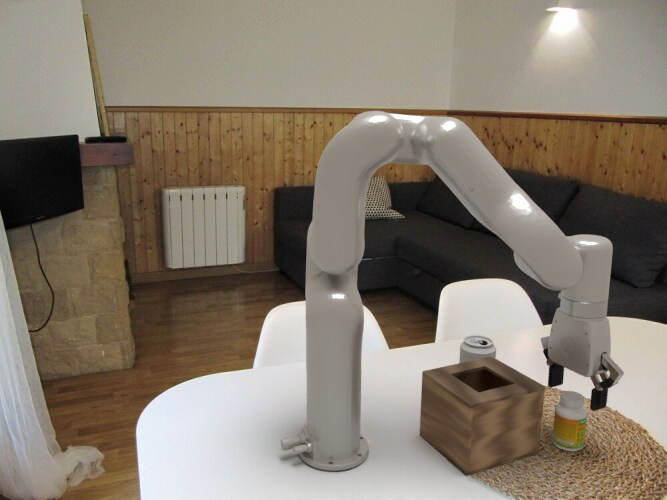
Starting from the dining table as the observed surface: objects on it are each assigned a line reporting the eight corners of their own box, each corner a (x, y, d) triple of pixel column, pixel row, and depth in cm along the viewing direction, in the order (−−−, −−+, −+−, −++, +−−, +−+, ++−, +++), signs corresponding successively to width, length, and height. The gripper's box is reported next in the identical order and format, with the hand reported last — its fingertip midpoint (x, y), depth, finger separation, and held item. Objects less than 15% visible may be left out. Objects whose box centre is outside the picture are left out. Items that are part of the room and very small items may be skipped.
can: (493, 400, 124) (498, 347, 121) (457, 397, 126) (460, 344, 123) (491, 385, 131) (495, 334, 129) (457, 381, 133) (460, 331, 130)
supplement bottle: (580, 455, 105) (586, 405, 102) (548, 446, 107) (553, 397, 105) (585, 441, 109) (591, 393, 107) (555, 433, 112) (560, 386, 110)
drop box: (466, 475, 99) (470, 405, 96) (419, 435, 111) (422, 371, 108) (538, 453, 105) (545, 386, 102) (487, 416, 118) (491, 356, 115)
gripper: (530, 296, 108) (525, 381, 112) (610, 326, 93) (600, 423, 97) (561, 290, 111) (554, 373, 115) (642, 318, 96) (632, 413, 100)
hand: (575, 396), depth 106 cm, fingers open, 9 cm apart
